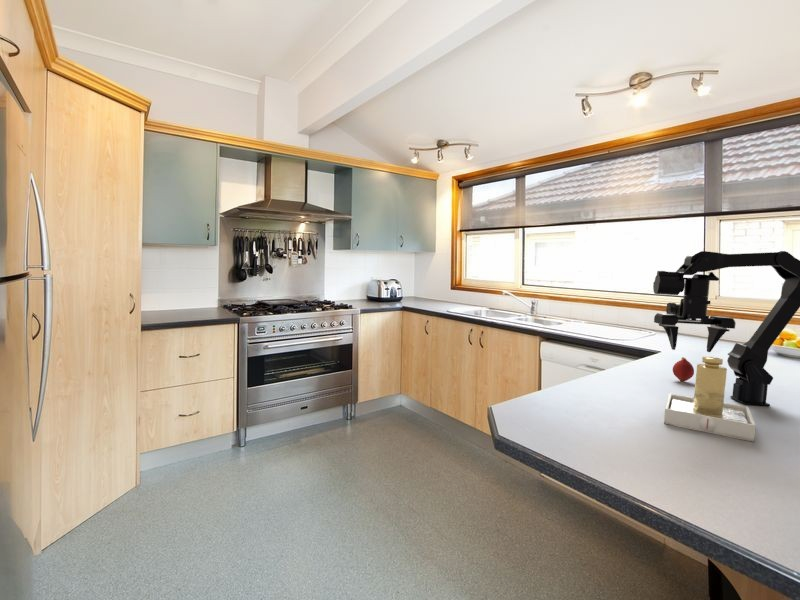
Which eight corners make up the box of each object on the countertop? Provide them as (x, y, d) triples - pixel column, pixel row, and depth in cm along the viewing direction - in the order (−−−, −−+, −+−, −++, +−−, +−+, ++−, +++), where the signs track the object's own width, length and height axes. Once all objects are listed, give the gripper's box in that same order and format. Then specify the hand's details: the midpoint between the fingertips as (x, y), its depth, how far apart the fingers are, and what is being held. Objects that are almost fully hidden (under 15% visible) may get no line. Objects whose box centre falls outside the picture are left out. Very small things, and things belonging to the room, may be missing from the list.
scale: (668, 406, 111) (669, 393, 111) (746, 421, 102) (748, 406, 102) (663, 424, 98) (665, 409, 98) (754, 442, 89) (755, 426, 89)
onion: (686, 380, 142) (689, 356, 142) (697, 384, 136) (699, 359, 136) (668, 378, 143) (670, 355, 142) (677, 383, 137) (679, 358, 136)
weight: (698, 405, 104) (703, 354, 103) (726, 412, 100) (731, 359, 98) (688, 409, 101) (693, 357, 100) (716, 416, 96) (722, 362, 95)
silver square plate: (672, 401, 110) (672, 398, 110) (743, 413, 102) (743, 410, 102) (669, 415, 98) (669, 412, 98) (748, 430, 90) (749, 427, 90)
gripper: (715, 296, 127) (710, 348, 129) (648, 293, 130) (644, 343, 131) (739, 298, 116) (733, 355, 118) (665, 295, 119) (660, 350, 120)
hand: (690, 350), depth 122 cm, fingers open, 9 cm apart
